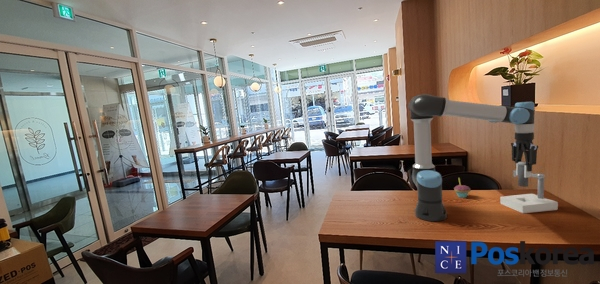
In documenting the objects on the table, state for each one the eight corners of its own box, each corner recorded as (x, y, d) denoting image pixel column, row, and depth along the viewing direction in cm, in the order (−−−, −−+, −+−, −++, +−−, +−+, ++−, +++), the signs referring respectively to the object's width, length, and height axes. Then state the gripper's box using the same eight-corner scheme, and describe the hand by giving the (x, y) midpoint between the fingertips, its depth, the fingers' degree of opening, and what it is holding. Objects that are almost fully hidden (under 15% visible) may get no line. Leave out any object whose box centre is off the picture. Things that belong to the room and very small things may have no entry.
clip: (512, 176, 146) (512, 170, 146) (516, 175, 147) (516, 169, 147) (542, 182, 132) (542, 175, 132) (546, 181, 133) (546, 174, 133)
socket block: (522, 213, 129) (522, 185, 127) (500, 203, 143) (500, 177, 141) (557, 209, 129) (558, 181, 127) (531, 200, 143) (532, 174, 141)
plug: (522, 187, 132) (523, 163, 131) (515, 184, 136) (516, 162, 135) (530, 186, 132) (531, 162, 131) (523, 184, 137) (523, 161, 135)
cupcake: (451, 196, 160) (450, 177, 159) (460, 193, 164) (459, 175, 163) (465, 199, 153) (464, 180, 151) (473, 196, 156) (473, 177, 155)
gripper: (547, 132, 123) (546, 179, 125) (516, 130, 140) (516, 171, 142) (532, 134, 123) (531, 181, 125) (503, 131, 140) (502, 172, 142)
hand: (523, 175), depth 134 cm, fingers closed on plug, 4 cm apart
